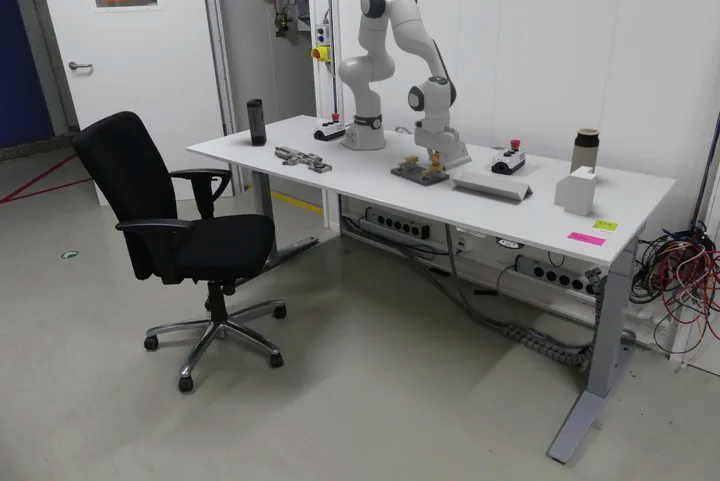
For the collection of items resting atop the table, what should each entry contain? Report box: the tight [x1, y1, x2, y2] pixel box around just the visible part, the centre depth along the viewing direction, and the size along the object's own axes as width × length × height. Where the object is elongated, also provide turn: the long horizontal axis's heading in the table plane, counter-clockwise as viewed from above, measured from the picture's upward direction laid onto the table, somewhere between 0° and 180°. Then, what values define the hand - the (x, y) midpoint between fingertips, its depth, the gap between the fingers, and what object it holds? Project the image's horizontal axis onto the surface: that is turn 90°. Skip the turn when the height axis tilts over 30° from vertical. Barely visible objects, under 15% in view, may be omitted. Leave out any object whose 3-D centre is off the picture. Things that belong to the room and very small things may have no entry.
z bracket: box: [450, 170, 534, 202], centre depth 181 cm, size 12×25×6 cm
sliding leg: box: [422, 152, 444, 178], centre depth 192 cm, size 3×8×8 cm, turn 127°
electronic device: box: [246, 98, 268, 147], centre depth 243 cm, size 9×6×20 cm, turn 179°
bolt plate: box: [389, 154, 451, 187], centre depth 198 cm, size 20×12×5 cm, turn 37°
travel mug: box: [569, 127, 601, 175], centre depth 184 cm, size 8×8×18 cm
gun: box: [274, 146, 333, 174], centre depth 221 cm, size 41×3×15 cm
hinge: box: [433, 141, 473, 172], centre depth 208 cm, size 17×5×10 cm, turn 131°
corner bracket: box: [553, 166, 599, 217], centre depth 165 cm, size 11×11×12 cm
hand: (436, 161), depth 193 cm, fingers closed on sliding leg, 3 cm apart
